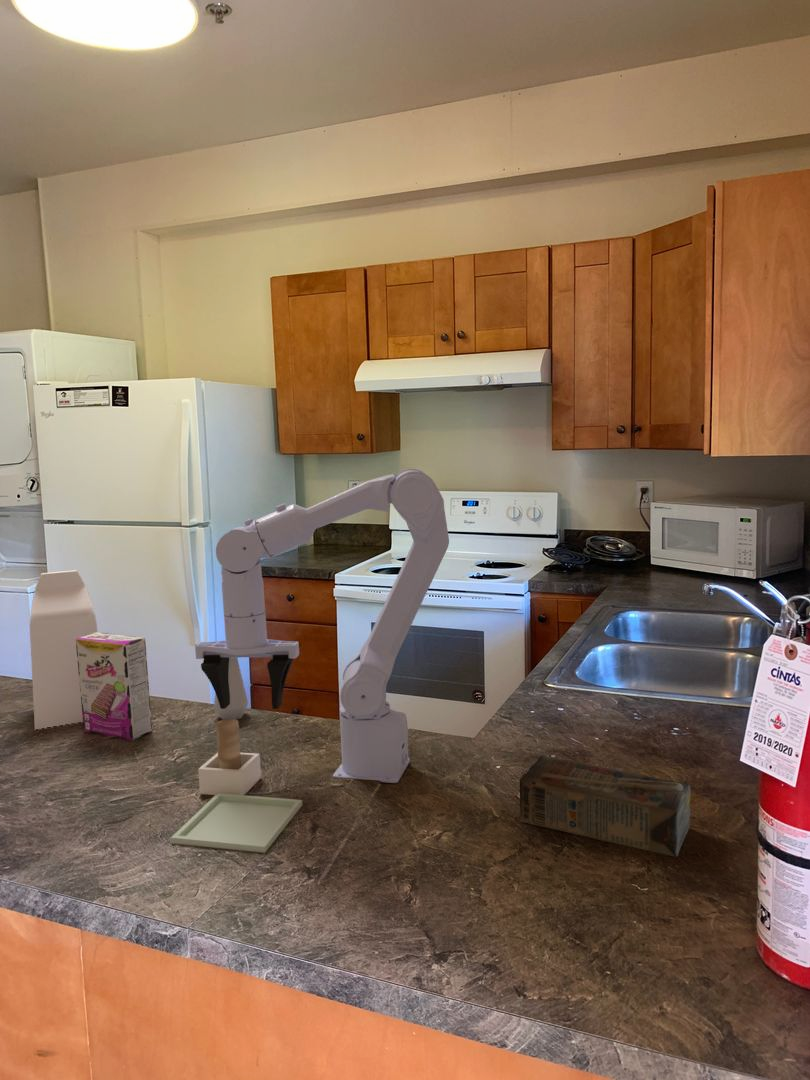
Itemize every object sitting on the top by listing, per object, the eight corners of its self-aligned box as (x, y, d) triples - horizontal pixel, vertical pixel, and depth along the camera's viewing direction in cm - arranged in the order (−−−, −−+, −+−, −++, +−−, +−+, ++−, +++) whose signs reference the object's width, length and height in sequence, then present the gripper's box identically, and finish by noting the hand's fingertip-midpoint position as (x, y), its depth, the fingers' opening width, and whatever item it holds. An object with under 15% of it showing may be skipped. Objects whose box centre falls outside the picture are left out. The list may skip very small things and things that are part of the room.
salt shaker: (240, 723, 135) (235, 649, 133) (209, 721, 136) (204, 648, 135) (253, 711, 141) (249, 640, 139) (223, 710, 142) (219, 639, 140)
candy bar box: (81, 733, 133) (73, 638, 131) (104, 723, 137) (96, 631, 135) (132, 742, 128) (124, 643, 126) (154, 731, 133) (146, 636, 130)
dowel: (245, 781, 110) (242, 719, 109) (236, 790, 108) (232, 727, 106) (226, 779, 111) (222, 718, 110) (216, 789, 108) (212, 726, 107)
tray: (302, 808, 103) (301, 800, 103) (265, 856, 91) (264, 846, 91) (218, 801, 106) (217, 793, 105) (171, 847, 94) (170, 837, 94)
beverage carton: (678, 861, 88) (679, 805, 87) (516, 825, 97) (515, 774, 96) (691, 829, 95) (692, 777, 94) (538, 799, 104) (538, 751, 103)
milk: (34, 730, 135) (20, 580, 132) (35, 709, 146) (22, 570, 142) (109, 718, 140) (97, 573, 137) (105, 699, 150) (94, 564, 147)
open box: (261, 780, 112) (259, 753, 111) (242, 800, 106) (240, 771, 105) (221, 777, 113) (219, 750, 113) (200, 796, 107) (198, 768, 107)
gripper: (302, 606, 114) (307, 697, 115) (205, 607, 115) (212, 697, 117) (289, 617, 107) (294, 714, 108) (186, 618, 108) (193, 713, 110)
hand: (251, 706), depth 112 cm, fingers open, 7 cm apart
